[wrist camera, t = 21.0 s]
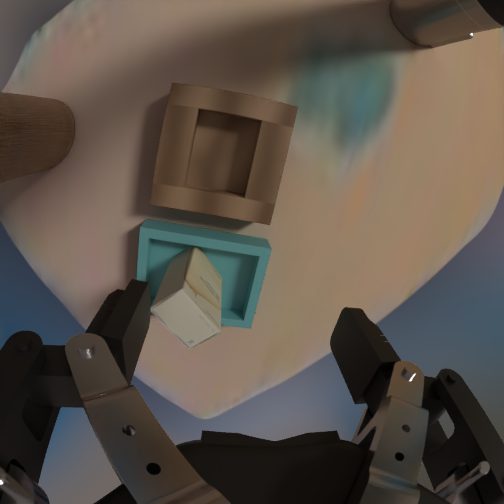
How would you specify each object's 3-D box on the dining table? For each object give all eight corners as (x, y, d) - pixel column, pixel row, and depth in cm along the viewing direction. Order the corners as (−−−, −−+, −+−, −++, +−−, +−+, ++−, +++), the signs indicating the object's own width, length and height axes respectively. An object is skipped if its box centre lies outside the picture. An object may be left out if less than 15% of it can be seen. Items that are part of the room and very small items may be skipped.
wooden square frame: (289, 110, 32) (297, 107, 28) (264, 216, 37) (269, 225, 33) (177, 89, 30) (172, 82, 26) (157, 197, 34) (149, 204, 31)
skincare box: (223, 277, 38) (224, 333, 27) (196, 293, 39) (189, 352, 28) (195, 240, 36) (184, 287, 25) (168, 259, 36) (148, 310, 25)
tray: (267, 239, 38) (271, 248, 35) (248, 314, 42) (250, 328, 39) (147, 219, 35) (140, 226, 32) (141, 298, 39) (135, 311, 36)
